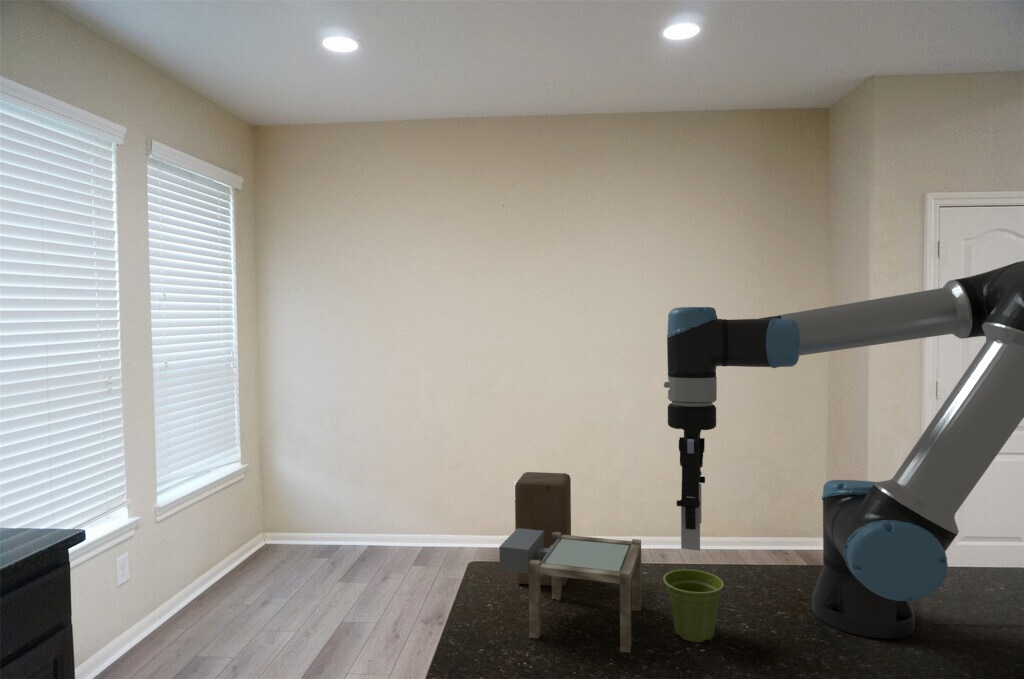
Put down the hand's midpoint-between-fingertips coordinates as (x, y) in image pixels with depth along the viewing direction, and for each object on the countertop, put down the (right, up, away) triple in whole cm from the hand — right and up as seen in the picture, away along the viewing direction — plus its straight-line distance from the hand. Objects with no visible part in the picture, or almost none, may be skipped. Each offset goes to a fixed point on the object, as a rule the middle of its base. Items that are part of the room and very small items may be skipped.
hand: (692, 534), depth 98 cm
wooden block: (-23, -16, +23) cm, 36 cm away
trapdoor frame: (-16, -16, +5) cm, 23 cm away
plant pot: (0, -16, 0) cm, 16 cm away
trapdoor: (-20, -7, +6) cm, 22 cm away
